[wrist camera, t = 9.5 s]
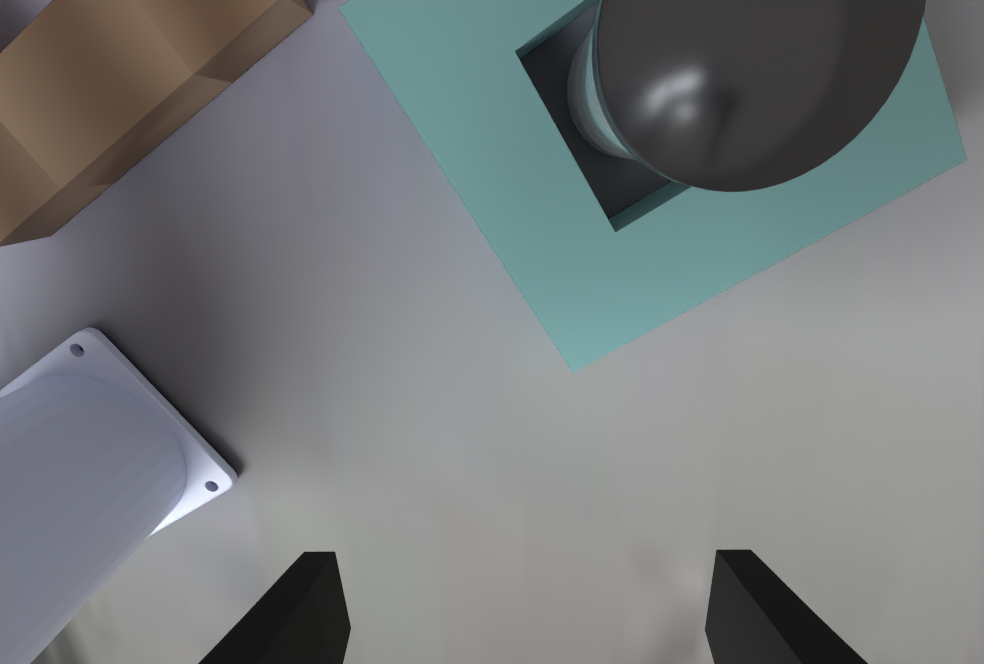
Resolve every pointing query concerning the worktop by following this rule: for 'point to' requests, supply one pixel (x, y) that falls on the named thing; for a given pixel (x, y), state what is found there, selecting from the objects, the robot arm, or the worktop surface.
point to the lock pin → (737, 83)
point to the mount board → (114, 92)
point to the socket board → (572, 204)
